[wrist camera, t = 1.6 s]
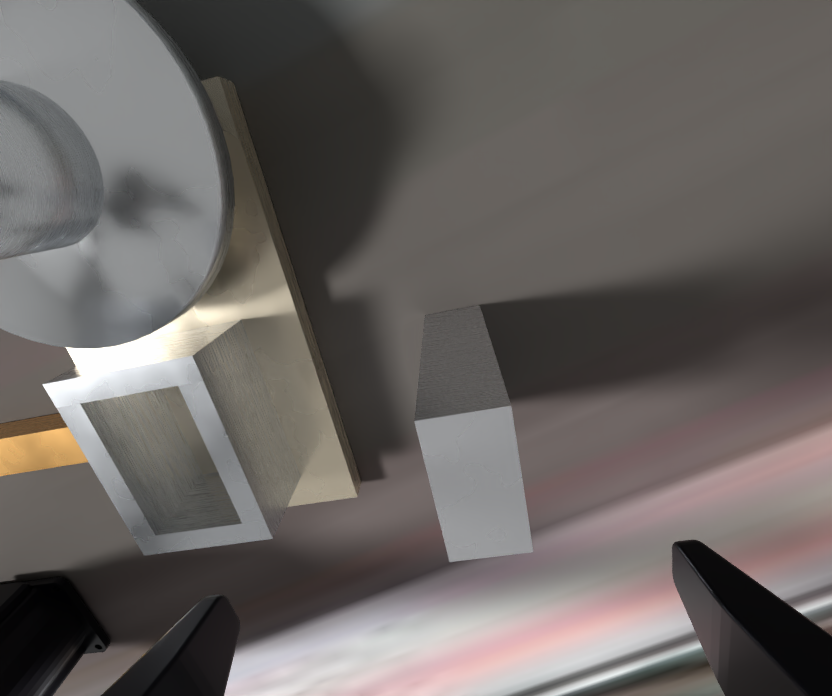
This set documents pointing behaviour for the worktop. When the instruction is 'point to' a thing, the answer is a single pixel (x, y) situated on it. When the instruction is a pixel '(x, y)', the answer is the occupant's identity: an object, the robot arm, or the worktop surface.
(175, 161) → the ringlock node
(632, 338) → the worktop surface
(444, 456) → the grey rectangular block
